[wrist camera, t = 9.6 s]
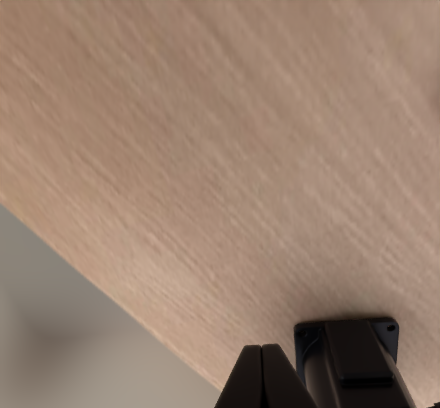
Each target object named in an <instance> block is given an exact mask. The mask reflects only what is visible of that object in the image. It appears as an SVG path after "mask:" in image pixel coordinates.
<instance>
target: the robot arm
mask: <svg viewBox="0 0 440 408" xmlns="http://www.w3.org/2000/svg"><path fill="white" fill-rule="evenodd" d="M389 325H391V326H390V327H388V326H389ZM300 331H304V332H300ZM398 336H399V325H398V323H397V321H396V320H395V319H394V318H374V319H359V320H343V321H328V322H313V323H300V324H297V325H295V327H294V343H295V357H296V371H295V369H294V368H293V366H292V364H291V363H290V361H289V360H288V358H287V357H286V355H285V353H284V352H283V350H282V349H281V347H280V346H279V345H278V344H263V345H262V348H261V346H260V345H246V346H244V348H243V349H242V351H241V353H240V356H239V358H238V360H237V362H236V364H235V366H234V368H233V370H232V372H231V374H230V376H229V378H228V380H227V383H226V385H225V387H224V389H223V391H222V393H221V395H220V397H219V399H218V401H217V403H216V406H215V407H214V408H417V407H416V405H415V403H414V401H413V399H412V397H411V395H410V393H409V391H408V389H407V387H406V385H405V383H404V381H403V379H402V377H401V374H400V372H399V370H398V368H397V366H396V362H397V349H398ZM434 405H435V406H432V407H428V408H440V402H438V403H434Z"/></svg>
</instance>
